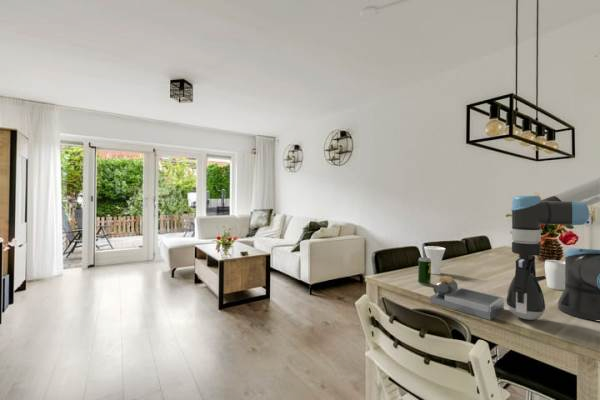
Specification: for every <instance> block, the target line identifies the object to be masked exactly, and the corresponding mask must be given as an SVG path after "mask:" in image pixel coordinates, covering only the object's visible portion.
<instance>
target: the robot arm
mask: <svg viewBox="0 0 600 400" xmlns="http://www.w3.org/2000/svg"><path fill="white" fill-rule="evenodd" d="M598 203H600V177H598V178H595V179H592V180H590V181H588V182H584V183H581V184H580V185H577V186H574V187H572V188H569V189H567V190H564V191H562V192H560V193H556V194H554V195H552V196H549V197H545V198H543V199H541V196H540V195H516V196H514V197H512V202H511V230H510V231H509V233H510V234H511V240H512V242H511V252H512V253H513V254H515V255H516V254H517V255H518V258H517V259H516V260H515V273H514V274H515V275H514V276H515V284H514V289H513V291H514V292H516V312H520V313H524V314H527V293H526V287H527V279H528V274H530V273H531V274H533V275H534V276H535V277H537V274H536V256H539V255H541V243H540V242H541V241H542V239H541V237H542V235H541V234H542V233H541V230H542V228H541V225H558V226H572V227H573V226H582V225H585V224H586V223H588V221H589V219H590V209H589V207H590V206H591V205H595V204H598ZM564 261H565V289H564V290H562V293H561V295H560V297H559V298H558V302H557V308H558V309H559V311H561V312H563V313H564V314H566V315H570V316H573V317H576V318H579V317H580V319H583V318H584V320H587V319H590V320H589V321H592V320H600V249H592V248H577V247H575V248H574V247H571V248H570V247H569V248H568V249H566V251H565V256H564ZM521 288H522V289H521Z"/></svg>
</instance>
